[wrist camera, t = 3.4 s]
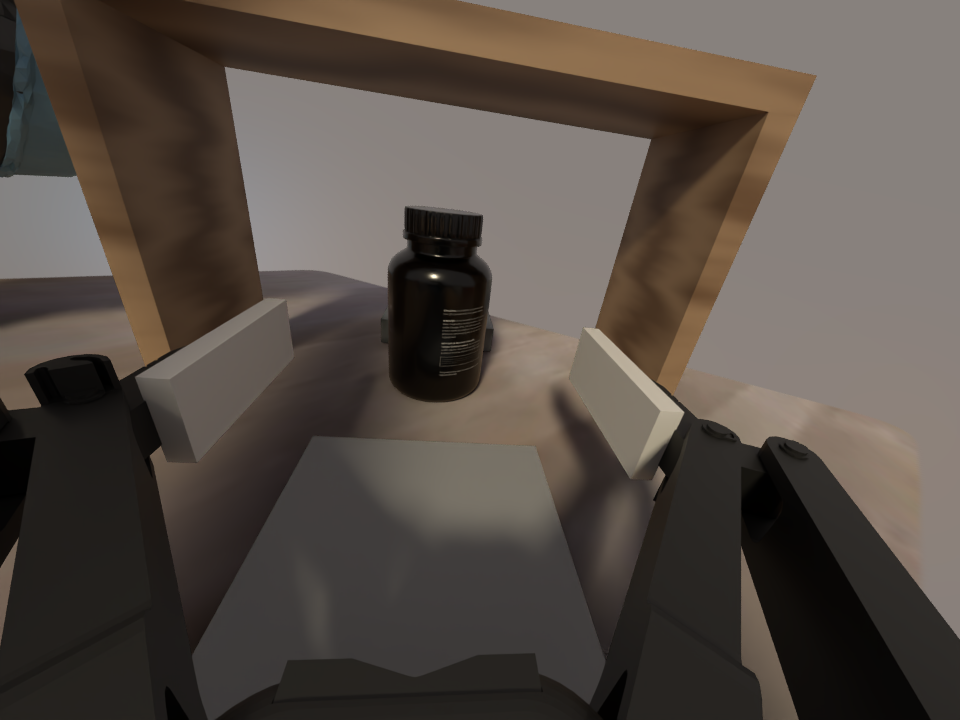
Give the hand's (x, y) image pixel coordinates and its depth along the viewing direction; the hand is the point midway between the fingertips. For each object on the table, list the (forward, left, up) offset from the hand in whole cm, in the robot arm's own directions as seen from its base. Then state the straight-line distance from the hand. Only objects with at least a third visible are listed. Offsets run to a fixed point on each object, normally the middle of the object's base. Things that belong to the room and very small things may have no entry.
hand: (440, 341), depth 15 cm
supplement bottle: (-4, +7, -7) cm, 11 cm away
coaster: (+3, -5, -7) cm, 9 cm away
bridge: (-4, +7, -7) cm, 11 cm away
